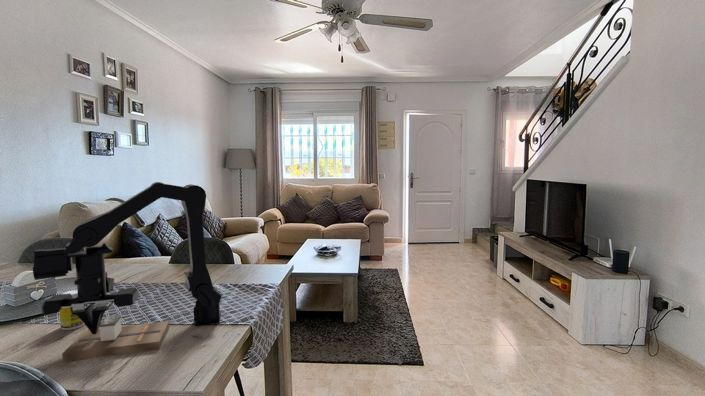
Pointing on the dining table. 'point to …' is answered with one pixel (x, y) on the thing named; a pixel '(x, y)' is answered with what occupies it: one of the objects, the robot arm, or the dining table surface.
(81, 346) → the fader console
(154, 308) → the dining table surface
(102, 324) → the fader tab
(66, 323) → the supplement bottle
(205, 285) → the robot arm
